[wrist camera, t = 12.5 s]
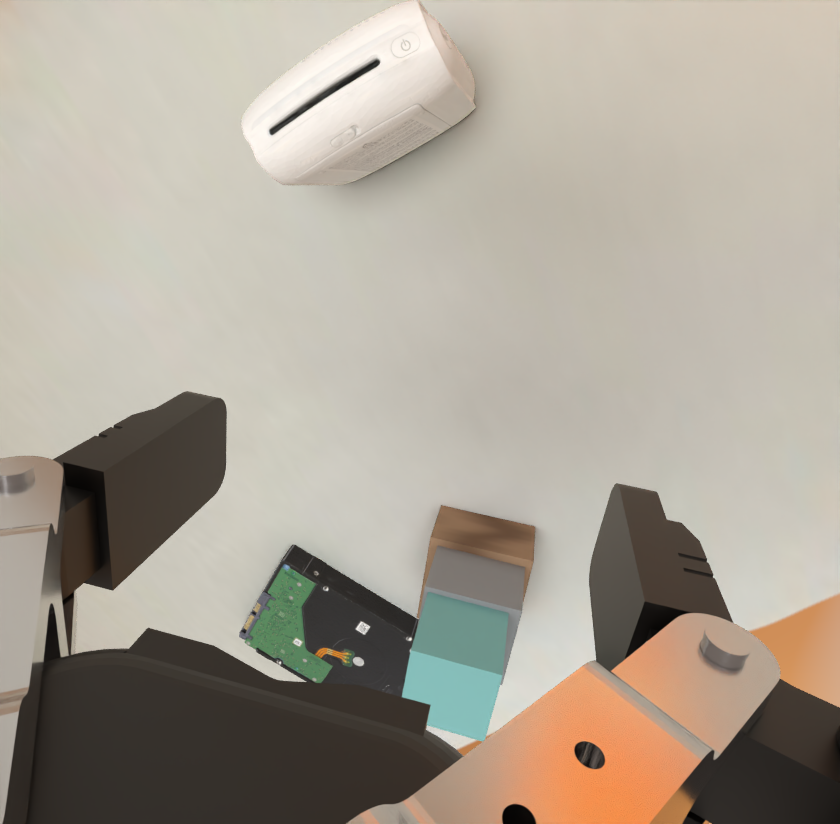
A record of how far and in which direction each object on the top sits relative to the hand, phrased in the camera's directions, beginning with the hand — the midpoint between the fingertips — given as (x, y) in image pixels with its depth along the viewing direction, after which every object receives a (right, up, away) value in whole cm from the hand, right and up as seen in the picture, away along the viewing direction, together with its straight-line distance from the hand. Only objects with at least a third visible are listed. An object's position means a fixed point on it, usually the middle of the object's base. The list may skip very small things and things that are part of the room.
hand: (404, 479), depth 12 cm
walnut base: (+5, -9, +34) cm, 35 cm away
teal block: (+3, -12, +25) cm, 28 cm away
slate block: (+4, -11, +29) cm, 32 cm away
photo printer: (-1, +19, +24) cm, 31 cm away
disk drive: (-6, -17, +39) cm, 43 cm away
